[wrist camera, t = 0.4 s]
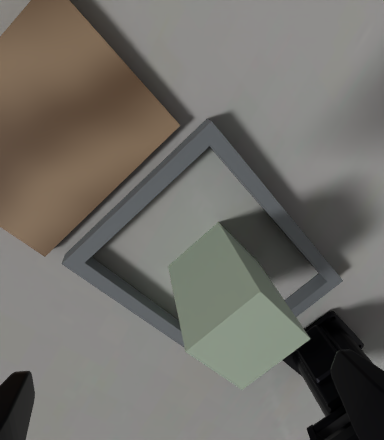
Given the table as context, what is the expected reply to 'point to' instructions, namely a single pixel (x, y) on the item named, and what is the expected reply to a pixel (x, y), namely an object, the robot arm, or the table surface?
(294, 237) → the bin rim
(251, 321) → the box
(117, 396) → the table surface
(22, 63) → the walnut pad
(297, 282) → the table surface
